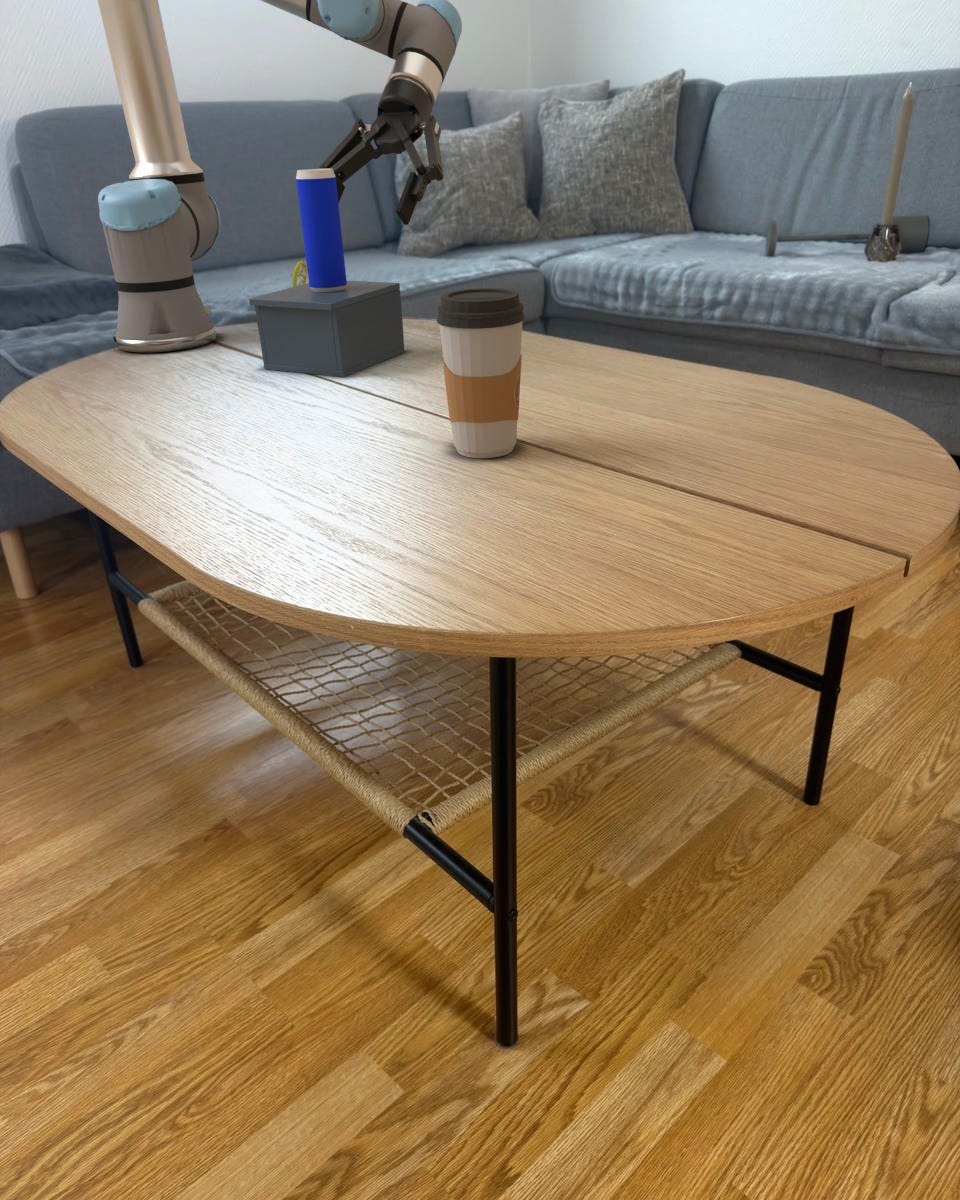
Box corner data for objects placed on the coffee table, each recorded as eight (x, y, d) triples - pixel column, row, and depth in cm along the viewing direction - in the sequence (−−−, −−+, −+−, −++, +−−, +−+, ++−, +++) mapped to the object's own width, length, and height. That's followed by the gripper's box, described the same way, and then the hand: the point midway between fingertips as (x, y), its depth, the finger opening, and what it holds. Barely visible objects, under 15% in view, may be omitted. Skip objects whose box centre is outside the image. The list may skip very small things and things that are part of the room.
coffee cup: (527, 461, 84) (525, 301, 77) (441, 463, 85) (432, 304, 78) (524, 434, 92) (523, 285, 85) (446, 436, 92) (438, 288, 85)
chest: (343, 377, 116) (335, 309, 112) (264, 369, 122) (254, 304, 118) (404, 351, 128) (400, 289, 124) (330, 345, 134) (323, 285, 130)
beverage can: (354, 287, 122) (342, 168, 114) (334, 293, 117) (320, 170, 110) (323, 286, 124) (309, 168, 116) (302, 292, 119) (286, 171, 112)
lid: (331, 310, 111) (330, 303, 111) (249, 305, 117) (248, 298, 117) (400, 289, 124) (399, 282, 124) (323, 285, 130) (322, 279, 129)
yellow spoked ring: (302, 362, 147) (261, 323, 139) (291, 360, 149) (250, 321, 141) (341, 300, 149) (304, 259, 141) (330, 299, 151) (292, 257, 143)
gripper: (493, 113, 126) (447, 236, 122) (352, 121, 137) (306, 234, 133) (474, 69, 120) (425, 198, 115) (328, 81, 130) (278, 199, 126)
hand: (361, 218), depth 124 cm, fingers open, 13 cm apart
